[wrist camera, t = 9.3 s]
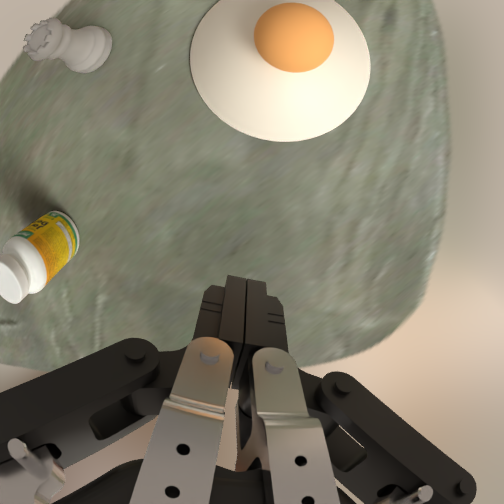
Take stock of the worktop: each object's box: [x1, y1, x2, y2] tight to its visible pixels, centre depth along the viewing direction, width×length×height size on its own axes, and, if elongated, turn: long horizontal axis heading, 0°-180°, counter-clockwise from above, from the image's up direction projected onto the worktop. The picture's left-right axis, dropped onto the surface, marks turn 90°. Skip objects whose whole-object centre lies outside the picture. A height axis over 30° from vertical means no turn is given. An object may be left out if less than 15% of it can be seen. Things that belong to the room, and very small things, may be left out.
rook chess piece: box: [23, 18, 112, 74], centre depth 14 cm, size 4×4×8 cm
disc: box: [190, 0, 370, 142], centre depth 18 cm, size 14×14×1 cm
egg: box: [254, 3, 334, 73], centre depth 15 cm, size 5×5×5 cm
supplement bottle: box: [0, 211, 79, 304], centre depth 21 cm, size 5×5×10 cm
